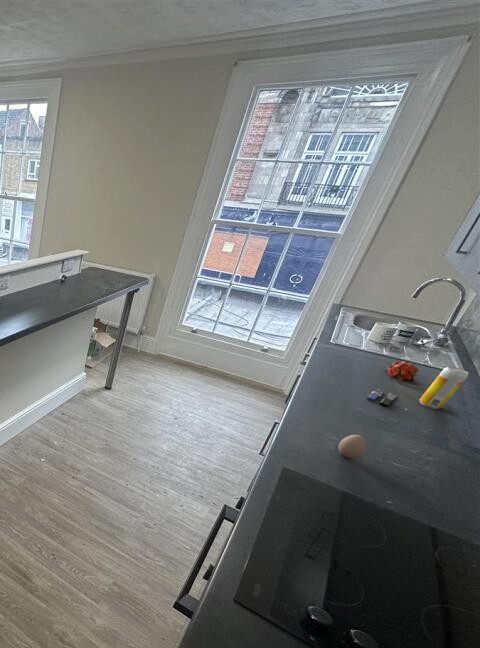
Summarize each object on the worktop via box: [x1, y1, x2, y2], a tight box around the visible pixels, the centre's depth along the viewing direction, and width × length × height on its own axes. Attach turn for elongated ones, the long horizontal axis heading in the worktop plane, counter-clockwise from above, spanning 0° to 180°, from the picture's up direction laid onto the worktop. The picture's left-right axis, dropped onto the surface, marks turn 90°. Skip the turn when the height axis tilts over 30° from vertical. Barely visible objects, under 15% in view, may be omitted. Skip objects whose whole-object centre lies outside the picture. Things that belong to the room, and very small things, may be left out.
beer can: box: [418, 366, 469, 410], centre depth 145 cm, size 6×6×15 cm
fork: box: [366, 388, 384, 402], centre depth 151 cm, size 15×3×1 cm, turn 126°
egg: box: [338, 434, 367, 459], centre depth 113 cm, size 5×5×7 cm
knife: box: [379, 392, 398, 408], centre depth 149 cm, size 16×2×1 cm, turn 126°
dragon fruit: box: [386, 360, 420, 382], centre depth 164 cm, size 8×8×12 cm
